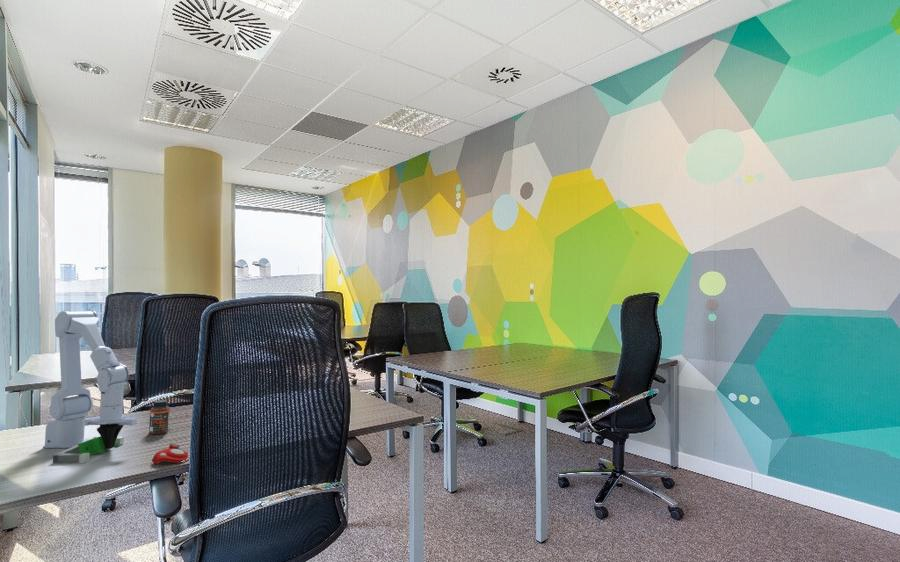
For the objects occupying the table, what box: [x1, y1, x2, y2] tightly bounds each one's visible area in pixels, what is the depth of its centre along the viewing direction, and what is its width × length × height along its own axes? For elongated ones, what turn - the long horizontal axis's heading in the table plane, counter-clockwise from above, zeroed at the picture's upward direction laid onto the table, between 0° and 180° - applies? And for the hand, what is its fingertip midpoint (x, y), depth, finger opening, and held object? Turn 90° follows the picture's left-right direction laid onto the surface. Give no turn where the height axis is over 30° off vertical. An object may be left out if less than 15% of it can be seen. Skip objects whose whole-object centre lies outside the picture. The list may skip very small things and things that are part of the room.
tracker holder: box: [151, 442, 188, 466], centre depth 135 cm, size 12×4×10 cm
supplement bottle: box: [148, 399, 171, 435], centre depth 161 cm, size 6×6×11 cm
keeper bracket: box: [52, 436, 125, 464], centre depth 139 cm, size 9×17×2 cm, turn 4°
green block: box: [78, 435, 116, 456], centre depth 140 cm, size 11×4×5 cm, turn 175°
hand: (109, 448), depth 139 cm, fingers closed
